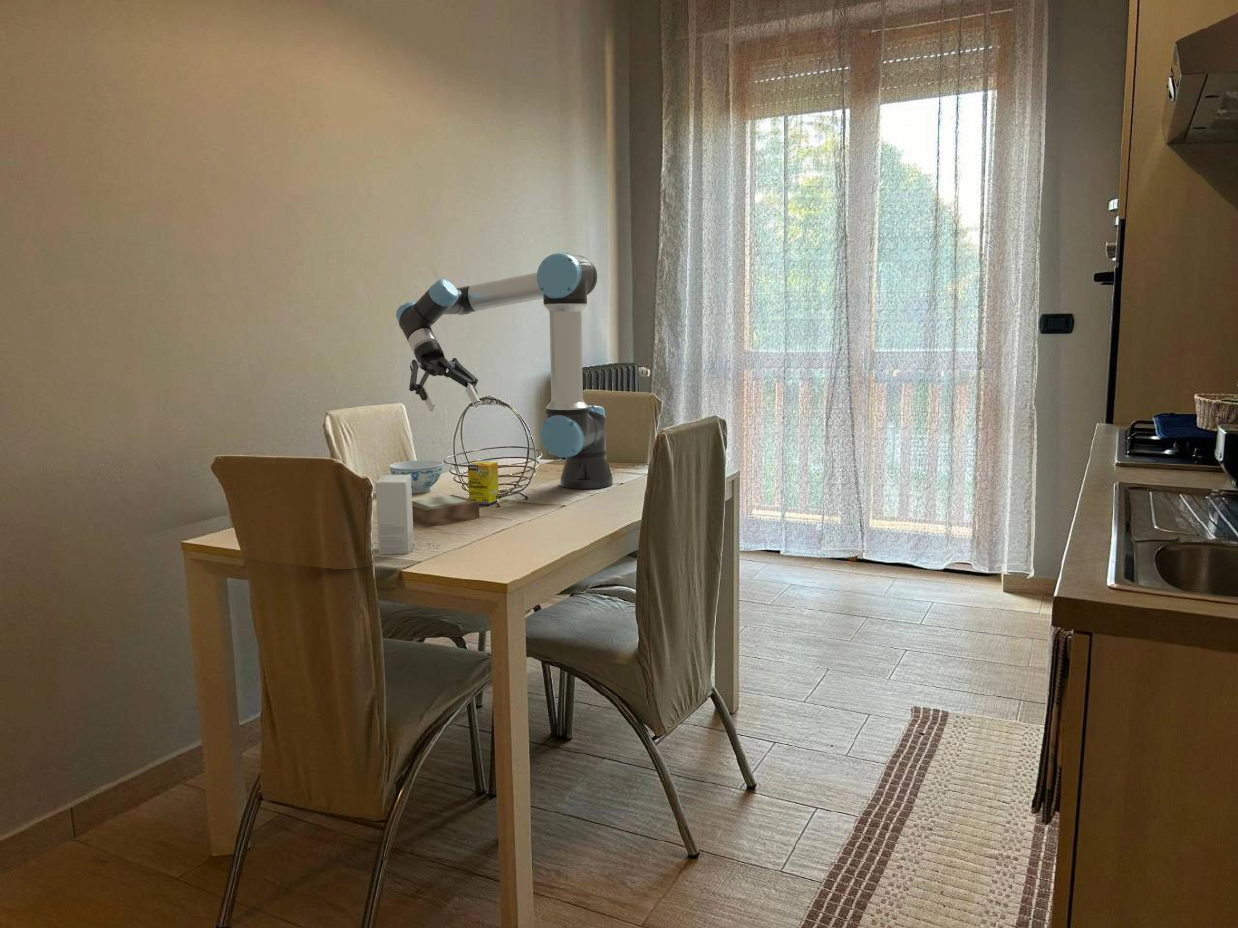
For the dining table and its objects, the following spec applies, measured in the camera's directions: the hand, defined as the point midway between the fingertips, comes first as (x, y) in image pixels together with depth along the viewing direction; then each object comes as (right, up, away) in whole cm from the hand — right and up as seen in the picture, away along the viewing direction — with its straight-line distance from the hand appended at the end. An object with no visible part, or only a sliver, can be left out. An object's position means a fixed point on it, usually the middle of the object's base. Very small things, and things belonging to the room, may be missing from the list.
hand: (455, 406), depth 248 cm
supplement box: (+9, -26, -6) cm, 28 cm away
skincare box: (-3, -34, -53) cm, 63 cm away
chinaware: (-13, -23, +15) cm, 31 cm away
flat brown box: (0, -29, -22) cm, 37 cm away
